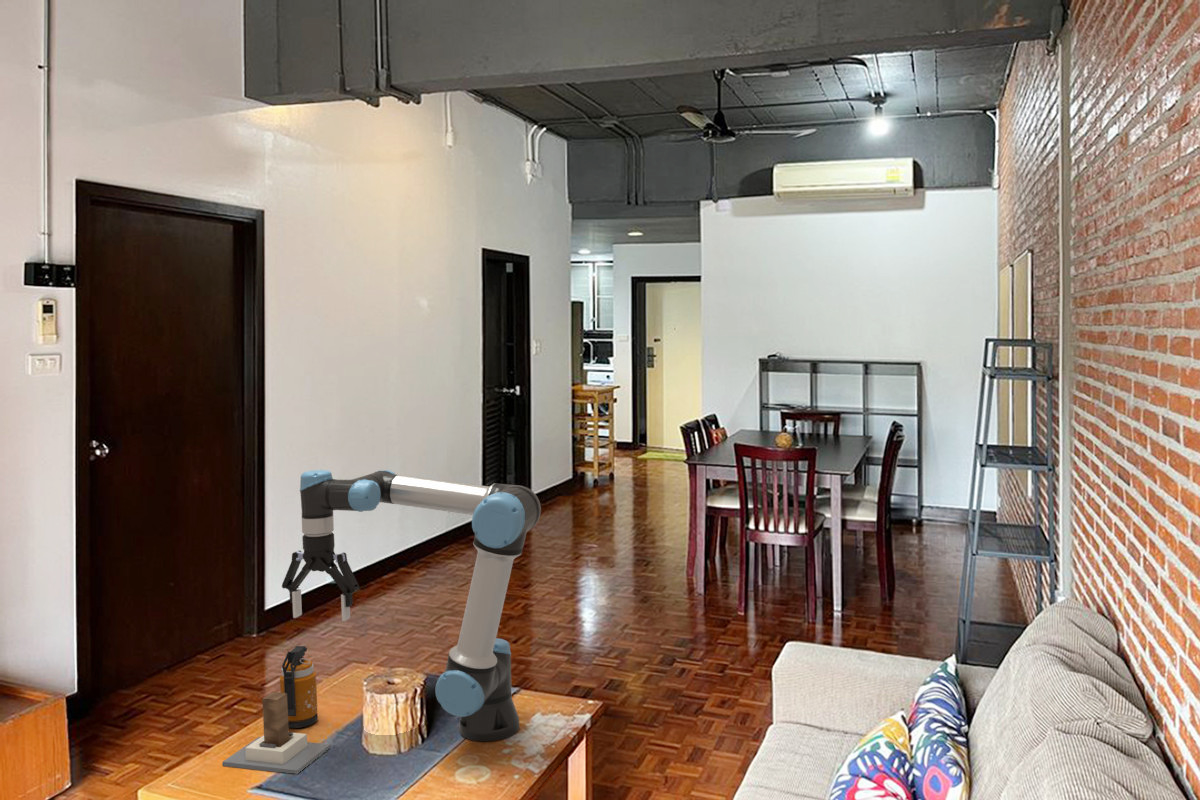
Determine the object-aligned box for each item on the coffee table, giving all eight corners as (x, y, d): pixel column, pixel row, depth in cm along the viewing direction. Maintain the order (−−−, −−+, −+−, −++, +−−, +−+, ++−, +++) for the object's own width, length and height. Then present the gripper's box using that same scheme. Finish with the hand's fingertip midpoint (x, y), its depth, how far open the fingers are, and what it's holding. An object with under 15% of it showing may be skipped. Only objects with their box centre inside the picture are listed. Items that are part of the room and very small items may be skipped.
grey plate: (330, 748, 229) (329, 730, 229) (297, 774, 216) (296, 755, 215) (259, 740, 234) (258, 722, 234) (222, 765, 221) (221, 746, 220)
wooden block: (289, 750, 226) (287, 693, 225) (279, 757, 222) (277, 699, 221) (275, 748, 227) (272, 692, 226) (265, 755, 223) (262, 698, 222)
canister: (323, 716, 249) (320, 642, 247) (306, 733, 238) (302, 656, 237) (290, 715, 250) (287, 642, 248) (272, 733, 239) (268, 656, 237)
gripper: (371, 531, 232) (374, 616, 233) (282, 528, 238) (286, 610, 240) (355, 538, 224) (359, 625, 226) (264, 534, 231) (268, 619, 232)
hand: (321, 618), depth 233 cm, fingers open, 13 cm apart
